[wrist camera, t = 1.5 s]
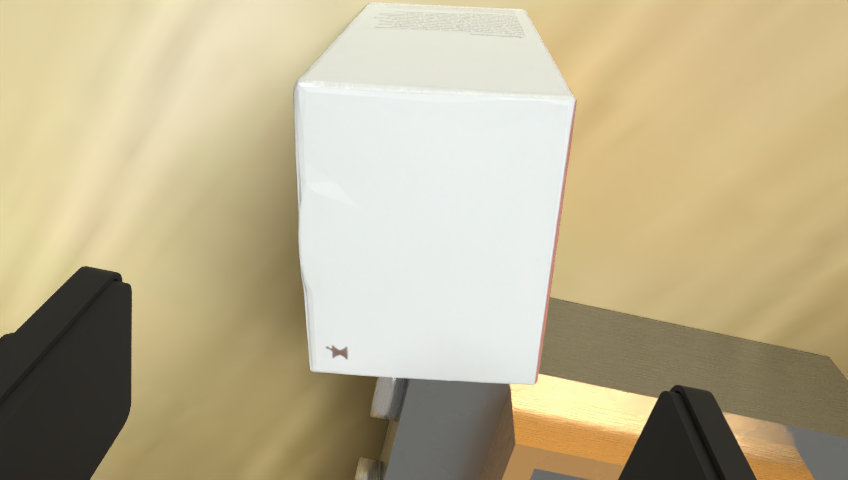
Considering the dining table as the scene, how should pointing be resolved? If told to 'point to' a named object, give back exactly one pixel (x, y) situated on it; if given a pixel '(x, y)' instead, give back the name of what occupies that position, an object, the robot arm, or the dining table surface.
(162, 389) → the dining table surface
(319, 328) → the small box
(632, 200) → the dining table surface
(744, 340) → the frame
